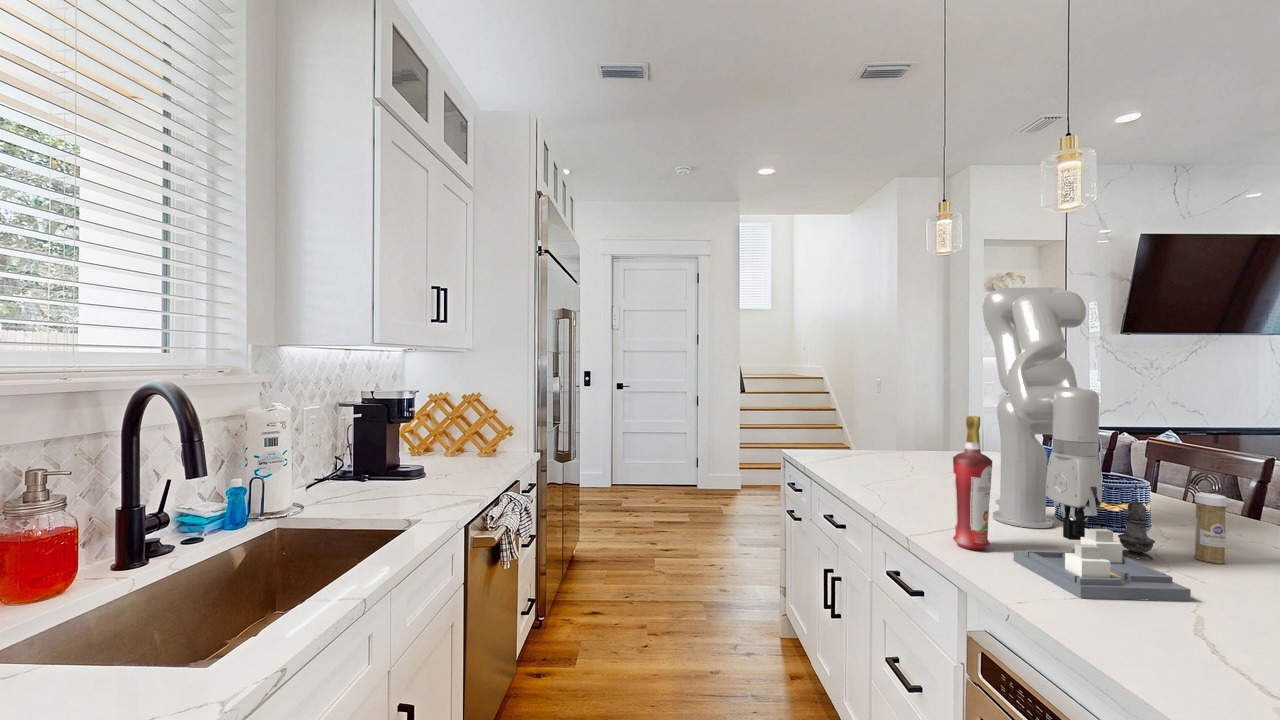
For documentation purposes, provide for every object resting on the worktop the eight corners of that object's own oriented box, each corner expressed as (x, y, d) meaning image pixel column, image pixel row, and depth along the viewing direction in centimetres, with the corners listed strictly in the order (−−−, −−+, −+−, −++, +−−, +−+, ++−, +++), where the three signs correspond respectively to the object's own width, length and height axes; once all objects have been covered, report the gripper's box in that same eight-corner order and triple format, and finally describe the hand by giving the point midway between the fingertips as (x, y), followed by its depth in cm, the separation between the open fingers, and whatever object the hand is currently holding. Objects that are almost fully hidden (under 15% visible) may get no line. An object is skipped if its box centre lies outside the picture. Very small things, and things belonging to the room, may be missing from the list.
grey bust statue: (1162, 561, 114) (1163, 502, 114) (1128, 559, 115) (1129, 500, 115) (1142, 552, 120) (1143, 495, 120) (1110, 549, 121) (1111, 493, 121)
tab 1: (1080, 554, 111) (1080, 526, 111) (1105, 555, 111) (1105, 527, 111) (1096, 562, 107) (1096, 532, 107) (1122, 562, 107) (1122, 533, 107)
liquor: (965, 539, 127) (966, 414, 127) (998, 549, 120) (1000, 417, 120) (944, 544, 123) (946, 415, 123) (977, 554, 117) (979, 418, 117)
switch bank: (1013, 560, 114) (1013, 545, 114) (1105, 562, 113) (1105, 547, 113) (1080, 598, 96) (1080, 580, 96) (1190, 601, 95) (1190, 583, 95)
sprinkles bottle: (1210, 564, 113) (1211, 497, 113) (1187, 556, 118) (1188, 491, 118) (1232, 564, 113) (1233, 497, 113) (1208, 556, 118) (1209, 492, 118)
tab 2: (1064, 572, 102) (1065, 541, 102) (1092, 573, 101) (1092, 542, 101) (1081, 581, 98) (1082, 549, 98) (1110, 582, 97) (1110, 550, 97)
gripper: (1032, 443, 124) (1031, 527, 124) (1083, 454, 109) (1082, 550, 109) (1067, 444, 124) (1066, 528, 124) (1123, 455, 109) (1122, 551, 109)
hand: (1073, 538), depth 116 cm, fingers closed
